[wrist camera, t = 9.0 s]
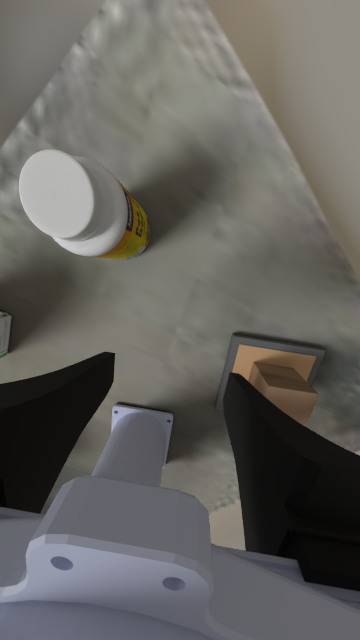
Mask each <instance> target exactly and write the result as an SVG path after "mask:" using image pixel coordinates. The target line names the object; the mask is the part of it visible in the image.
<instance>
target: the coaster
mask: <svg viewBox="0 0 360 640" xmlns="http://www.w3.org/2000/svg"><path fill="white" fill-rule="evenodd" d="M324 354H325V350H323V349H322V348H319V347H313V346H306V345H300V344H294V343H288V342H282V341H275V340H269V339H263V338H257V337H250V336H244V335H238V334H232V338H231V342H230V346H229V350H228V354H227V358H226V362H225V366H224V371H223V375H222V379H221V383H220V387H219V391H218V395H217V399H216V404H215V410H216V411H221V412H224V408H223V397H224V393H225V389H226V385H227V381H228V377H229V373H230V372H232V373H239V374H241V375H242V376H243V377H244V378H245V379H246V380H247V381H248V379H249V375H250V372H251V368H252V365H253V362H258V363H264V364H271V365H277V366H284V367H290V368H294V369H295V370H296V371H297V372H298V373H299V374H300V375H301V376H302V377H303V378H304V379H305V380H306V381H307V382H308V383H309V385H310V386H312V383H313V381H314V379H315V376H316V374H317V371H318V369H319V366H320V364H321V361H322V359H323V356H324Z"/></svg>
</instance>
